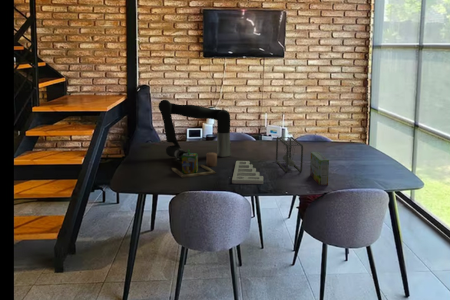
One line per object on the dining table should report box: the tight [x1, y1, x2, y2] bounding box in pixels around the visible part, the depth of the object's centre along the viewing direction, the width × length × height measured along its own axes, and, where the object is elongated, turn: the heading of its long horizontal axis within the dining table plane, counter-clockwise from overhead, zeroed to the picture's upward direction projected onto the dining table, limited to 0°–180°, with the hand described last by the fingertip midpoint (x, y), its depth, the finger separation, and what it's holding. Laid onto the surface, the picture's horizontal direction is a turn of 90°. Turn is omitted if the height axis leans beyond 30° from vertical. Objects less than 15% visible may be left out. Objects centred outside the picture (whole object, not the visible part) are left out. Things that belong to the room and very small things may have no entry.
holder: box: [231, 160, 264, 185], centre depth 278 cm, size 45×18×3 cm, turn 175°
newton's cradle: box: [275, 136, 304, 173], centre depth 292 cm, size 30×10×18 cm, turn 6°
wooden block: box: [205, 152, 218, 168], centre depth 296 cm, size 7×7×8 cm
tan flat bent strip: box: [171, 164, 217, 179], centre depth 281 cm, size 22×20×1 cm
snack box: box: [309, 151, 330, 186], centre depth 263 cm, size 21×6×15 cm, turn 5°
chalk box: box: [181, 148, 199, 175], centre depth 279 cm, size 9×9×15 cm
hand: (190, 160), depth 284 cm, fingers closed
